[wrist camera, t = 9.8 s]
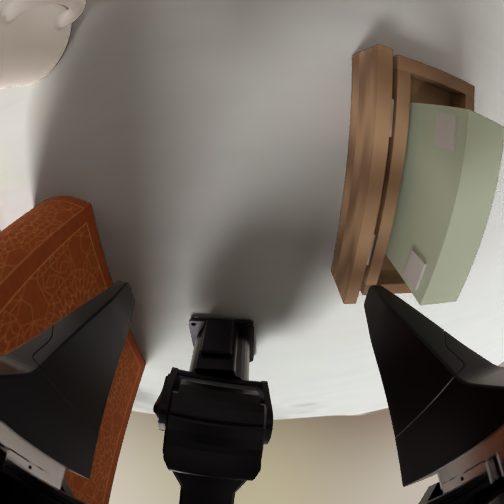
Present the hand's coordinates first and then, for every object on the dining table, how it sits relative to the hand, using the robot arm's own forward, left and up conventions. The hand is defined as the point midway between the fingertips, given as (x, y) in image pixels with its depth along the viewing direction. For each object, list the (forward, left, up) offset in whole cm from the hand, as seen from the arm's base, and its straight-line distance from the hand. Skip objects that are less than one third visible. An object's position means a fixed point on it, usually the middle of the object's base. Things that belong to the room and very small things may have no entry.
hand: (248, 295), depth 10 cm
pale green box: (+2, -12, -10) cm, 16 cm away
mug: (+16, +17, -12) cm, 26 cm away
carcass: (+2, -12, -12) cm, 17 cm away
